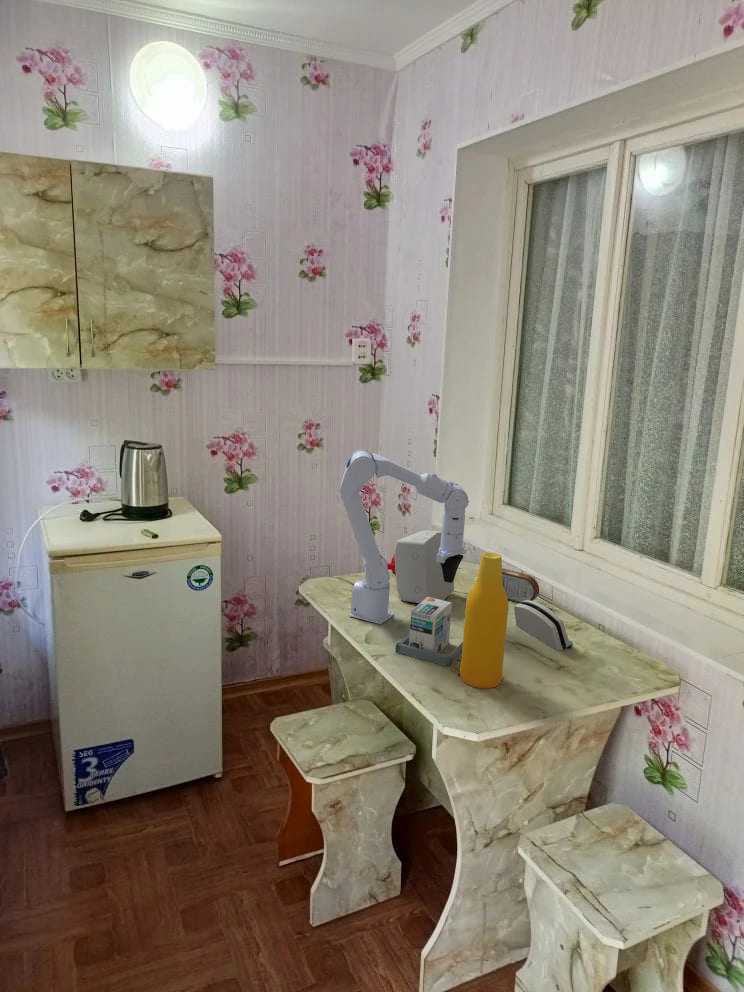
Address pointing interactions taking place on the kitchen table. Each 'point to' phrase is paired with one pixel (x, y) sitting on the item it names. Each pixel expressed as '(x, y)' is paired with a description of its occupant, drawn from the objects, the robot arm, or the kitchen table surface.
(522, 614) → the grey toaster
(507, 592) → the tin
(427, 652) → the bay
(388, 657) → the kitchen table surface
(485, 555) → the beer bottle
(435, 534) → the electrical switch box
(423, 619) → the light bulb box
